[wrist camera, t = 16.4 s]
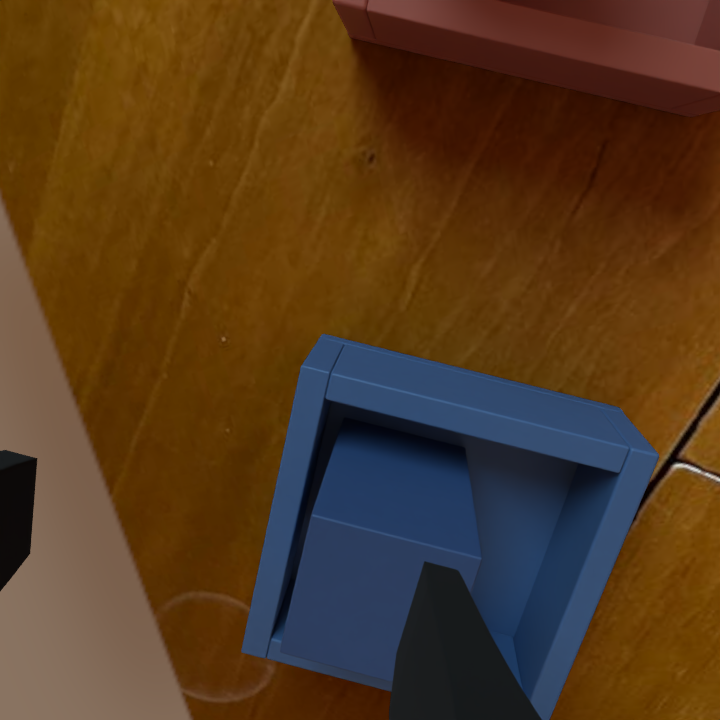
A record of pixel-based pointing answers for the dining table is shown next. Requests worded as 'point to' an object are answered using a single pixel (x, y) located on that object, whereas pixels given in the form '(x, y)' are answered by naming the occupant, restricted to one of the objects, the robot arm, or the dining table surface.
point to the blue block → (378, 545)
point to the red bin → (564, 43)
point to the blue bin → (490, 495)
